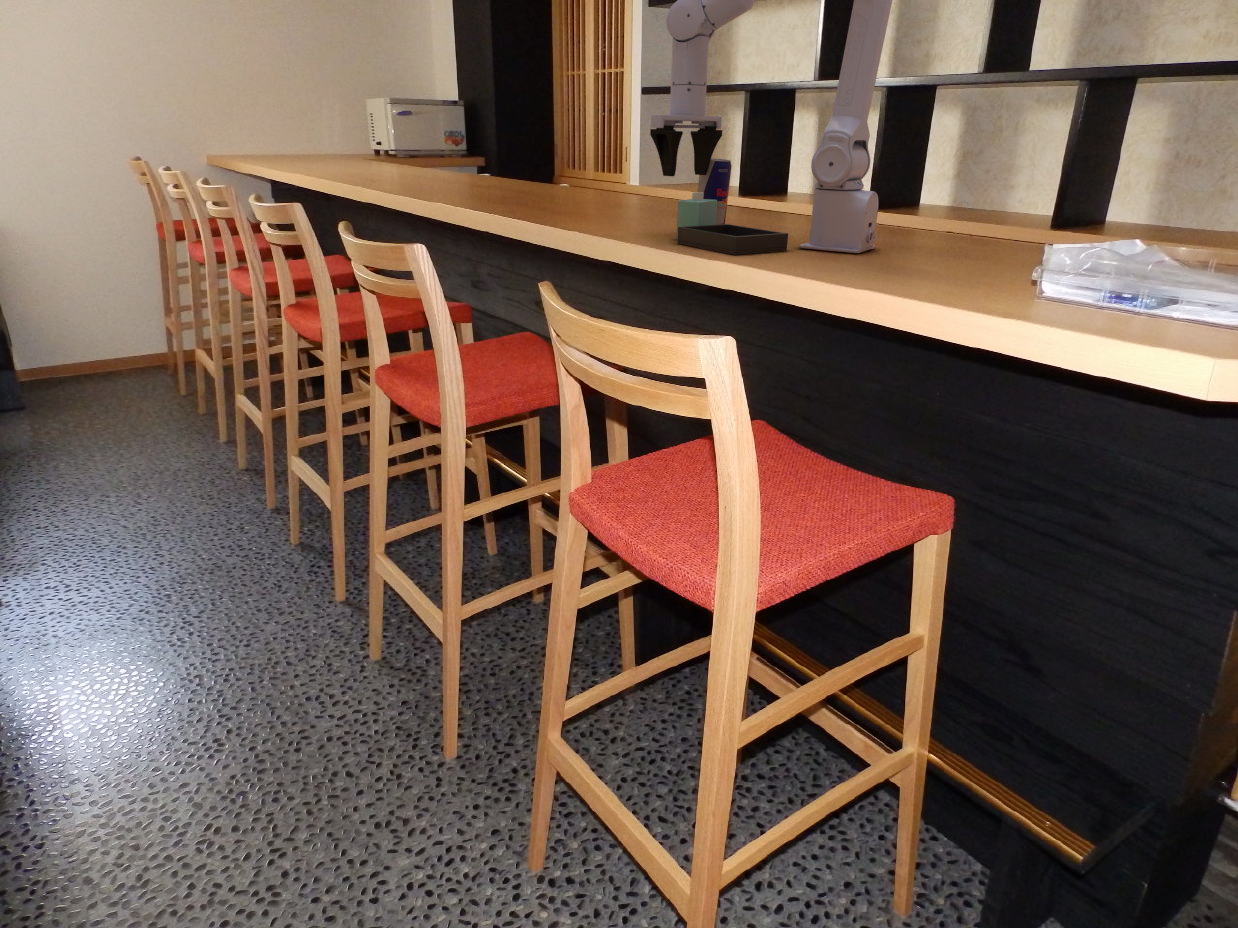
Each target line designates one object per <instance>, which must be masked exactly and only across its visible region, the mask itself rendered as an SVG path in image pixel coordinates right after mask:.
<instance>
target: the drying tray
mask: <svg viewBox="0 0 1238 928" xmlns="http://www.w3.org/2000/svg"><path fill="white" fill-rule="evenodd" d="M676 239H677V238H676ZM788 241H789V233H788V232H782V231H776V230H769V229H764V228H757V227H750V226H744V225H738V224H737V225H736V224H731V223H725V224H719V225H702V226H686V227H678V239H677V240H676V242H677V243H676V244H677V245H682V246H688V247H692V248H697V249H700V250H701V249H702V250H706V251H712V252H717V253H721V254H725V255H726V254H727V255H732V256H741V255H754V254H766V253H768V254H769V253H778V252H779V253H780V252H787V251H788V243H789V242H788Z"/></svg>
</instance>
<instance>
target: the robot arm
mask: <svg viewBox="0 0 1238 928" xmlns="http://www.w3.org/2000/svg"><path fill="white" fill-rule="evenodd" d="M755 2H756V0H676V1H675V2H674V3H673V4H672V5H671V6H670V7H669V10H668V12H667V14H666V27H667V28H666V29H667V31H668V33H669V34H670V36H671V38H672V40H671V41H672V43H671V67H670V71H671V72H670V96H669V97H670V98H669V99H670V100H669V114H651V115H650V129H649V131H650V132H649V136H650V137H651V139H652V141H653V142H654V145H655V148H656V151H657V154H658V157H659V162H660V166H661V171H662V176H663V177H675V175H676V171H677V164H678V163H677V161H678V153H679V147H680V144H681V140H682V137H683V134H684V132H683V131H682V130H676V129H697V130H691V131H690V132H689V134H690V137H691V140H692V148H693V170H694V175H695V176H699V175H706V174H707V171H708V167H709V163H710V160H711V158H713V154H714V152H715V149H716V148H717V145H718V143H719V142H720V140H721V139H722V137H723V129H722V123H723V122H722V120H723V116H720V115H719V116H718V115H706V108H707V107H706V105H707V85H708V84H707V82H708V65H709V64H708V63H709V45H710V40H711V39H712V38H713V36H714V35H715V32H716V31H718V30H719V29H720V28H722V27H723V26H725V25H727V24H729V23H730V22H732V21H734V20H735V19H737V18H739V17H740V16H743V15H744V14H745V13H747V12H748V11H750V10H752V8H753V6H754V4H755ZM892 4H893V0H853V3H852V9H851V14H850V20H849V26H848V30H847V35H846V41H845V45H844V50H843V51H844V52H843V57H842V62H841V66H840V71H839V77H838V82H837V88H836V92H835V97H834V98H835V99H834V104H833V109H832V115H831V118H830V120H829V122H828V124H827V125H826V127H825V129H824V131H823V134H822V139H821V141H820V144H819V146H818V148H817V149H816V150H815V151H814V153H813V155H812V159H811V163H810V164H811V173H812V175H813V178H814V179H815V181H816V183H815V184H814V188H813V198H812V209H811V218H810V219H811V220H810V230H809V238H808V239H809V241H808V242H805V243H801V244H799V245H798V247H799V249H805V250H806V249H807V250H816V251H817V250H819V251H828V252H838V253H839V252H840V253H850V254H860V253H861V254H862V253H864V252H867V251H870V250H874V249H875V248H876V245H875V239H876V230H877V223H878V222H877V221H878V215H879V214H878V213H879V195H878V193H877V192H876V191H874V190H864V186H865V185H864V183H863V179H864V178H865V177H866V175H867V174H868V172H869V169H870V168H871V153H870V151H869V142H870V136H871V134H870V128H869V124H868V120H869V115H870V112H871V106H872V100H873V95H874V90H875V86H876V81H877V77H878V71H879V67H880V63H881V57H882V53H883V48H884V43H885V38H886V34H887V28H888V23H889V19H890V15H891V8H892ZM684 122H691V124H683V123H684Z"/></svg>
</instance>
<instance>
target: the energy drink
mask: <svg viewBox="0 0 1238 928" xmlns="http://www.w3.org/2000/svg"><path fill="white" fill-rule="evenodd" d="M731 175H732V160H730V159H725V158H716V157H715V158H714V157H711V160H710V163H709V167H708V171H707V174H706V175H698V183H697V192H703V193H704V197H703V199H711V200H717V211H716V225H719V224H726V217H727V209H728V201H729V193H730V191H729V190H730V183H731Z"/></svg>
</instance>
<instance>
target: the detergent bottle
mask: <svg viewBox="0 0 1238 928" xmlns="http://www.w3.org/2000/svg"><path fill="white" fill-rule="evenodd" d="M691 197H692V198H688V199H680V200H677V214H676V215H677V217H676V239H675V240H676V241H677V239H678V227H686V226H702V225H716V211H717V200H711V199H703V197H704V193H703V192H698V191H692V196H691Z"/></svg>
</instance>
